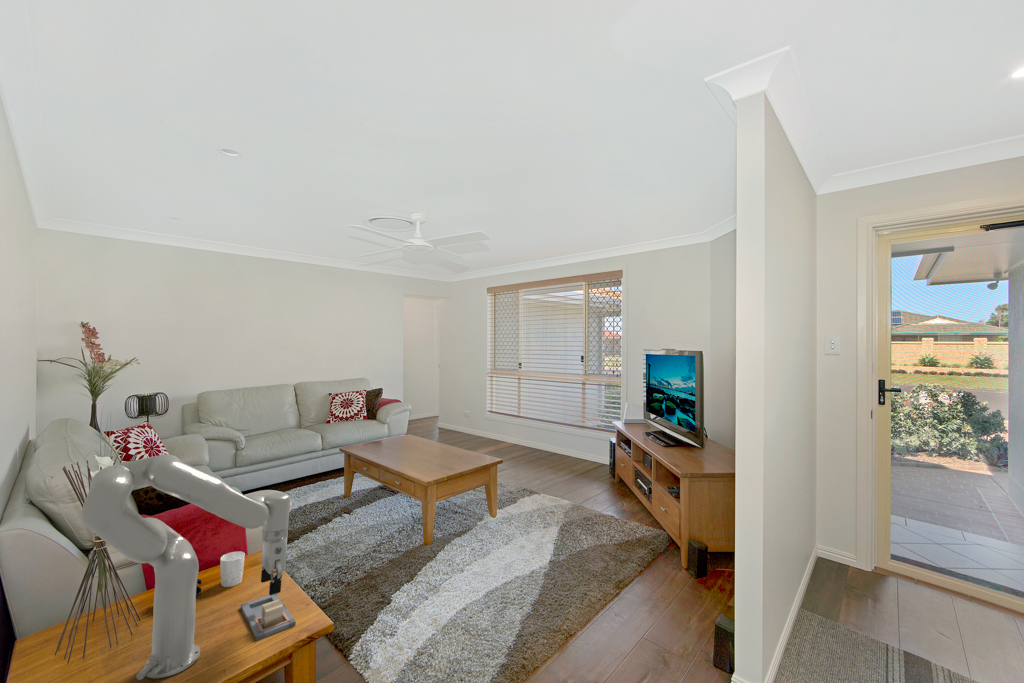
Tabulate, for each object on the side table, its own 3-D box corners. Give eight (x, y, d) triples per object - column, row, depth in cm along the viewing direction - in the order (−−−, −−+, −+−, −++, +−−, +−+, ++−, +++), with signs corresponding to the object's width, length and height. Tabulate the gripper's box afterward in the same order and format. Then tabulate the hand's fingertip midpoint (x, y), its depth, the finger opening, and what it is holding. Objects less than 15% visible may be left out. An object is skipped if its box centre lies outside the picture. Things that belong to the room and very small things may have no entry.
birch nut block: (282, 624, 140) (283, 605, 140) (265, 631, 136) (266, 611, 136) (278, 617, 143) (278, 599, 144) (261, 623, 140) (261, 605, 140)
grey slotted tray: (295, 626, 140) (295, 620, 140) (257, 641, 132) (257, 635, 132) (275, 597, 156) (276, 592, 156) (240, 608, 148) (240, 603, 148)
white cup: (248, 578, 168) (249, 552, 168) (233, 589, 160) (234, 561, 161) (229, 576, 169) (230, 550, 169) (214, 587, 161) (215, 560, 161)
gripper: (295, 539, 137) (291, 594, 136) (279, 522, 149) (275, 573, 148) (269, 545, 132) (264, 602, 131) (255, 527, 144) (250, 580, 143)
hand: (270, 587), depth 140 cm, fingers open, 9 cm apart
